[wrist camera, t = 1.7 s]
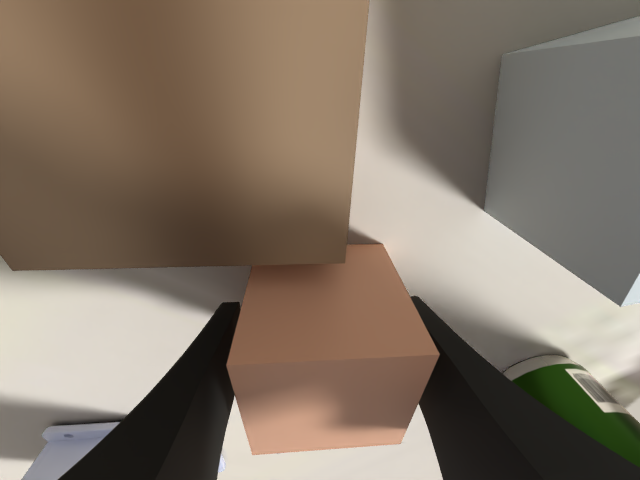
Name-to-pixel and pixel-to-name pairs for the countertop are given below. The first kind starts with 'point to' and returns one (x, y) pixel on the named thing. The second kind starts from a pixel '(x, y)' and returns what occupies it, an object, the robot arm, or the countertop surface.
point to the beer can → (579, 402)
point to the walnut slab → (178, 131)
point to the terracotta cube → (329, 354)
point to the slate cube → (573, 154)
